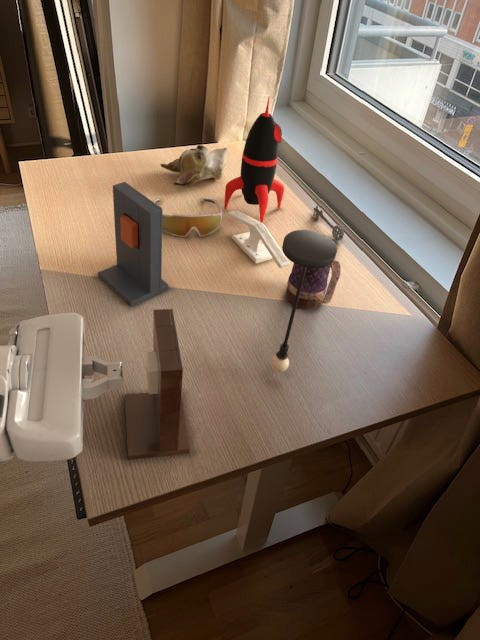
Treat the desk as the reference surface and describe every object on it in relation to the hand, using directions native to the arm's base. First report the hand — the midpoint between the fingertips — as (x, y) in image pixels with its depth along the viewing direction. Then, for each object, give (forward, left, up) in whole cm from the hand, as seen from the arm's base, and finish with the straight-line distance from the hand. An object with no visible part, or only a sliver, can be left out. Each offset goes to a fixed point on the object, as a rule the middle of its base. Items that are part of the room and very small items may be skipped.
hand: (122, 374), depth 63 cm
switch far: (+2, +31, -2) cm, 31 cm away
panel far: (+2, +31, -11) cm, 33 cm away
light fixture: (+23, +7, -11) cm, 27 cm away
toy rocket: (+29, +56, -11) cm, 64 cm away
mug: (+33, +24, -11) cm, 42 cm away
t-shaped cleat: (+26, +41, -11) cm, 50 cm away
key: (+44, +48, -11) cm, 66 cm away
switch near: (+4, 0, -2) cm, 4 cm away
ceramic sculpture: (+18, +69, -11) cm, 72 cm away
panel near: (+4, 0, -11) cm, 12 cm away
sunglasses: (+14, +52, -11) cm, 55 cm away
